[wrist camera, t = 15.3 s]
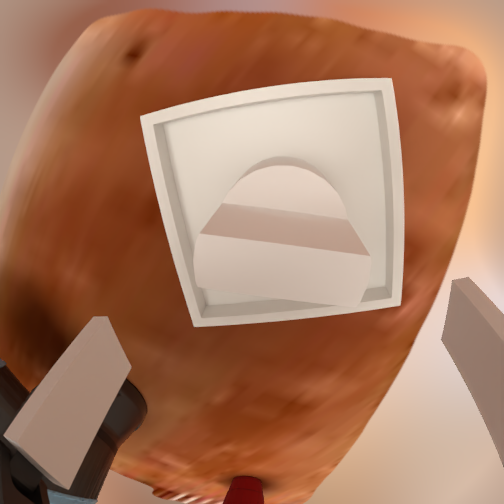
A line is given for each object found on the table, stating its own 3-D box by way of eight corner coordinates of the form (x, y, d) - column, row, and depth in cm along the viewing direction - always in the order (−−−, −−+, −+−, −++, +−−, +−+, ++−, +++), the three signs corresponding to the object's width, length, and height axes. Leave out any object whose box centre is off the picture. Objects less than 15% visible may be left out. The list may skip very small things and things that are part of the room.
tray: (201, 310, 32) (194, 326, 29) (154, 116, 25) (139, 116, 22) (391, 289, 29) (400, 305, 26) (380, 82, 22) (391, 78, 19)
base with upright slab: (227, 249, 28) (192, 330, 17) (235, 150, 25) (196, 171, 14) (324, 262, 28) (346, 350, 17) (343, 164, 24) (389, 198, 13)
